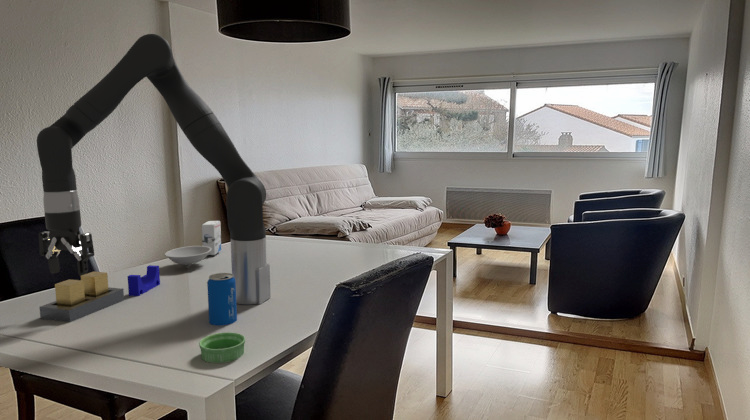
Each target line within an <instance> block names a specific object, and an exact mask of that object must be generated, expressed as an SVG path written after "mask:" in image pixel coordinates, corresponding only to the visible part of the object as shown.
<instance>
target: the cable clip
mask: <svg viewBox="0 0 750 420" xmlns="http://www.w3.org/2000/svg"><path fill="white" fill-rule="evenodd" d="M160 285H161V277H160V265H147V266H146V273H145V275H142V276H141V274H129V275H128V276H127V287H128V288H127V290H128V296H129V297H140V296H141V295H143V294H146V293H147V292H149V291H151V290H153V289H154V288H156V287H157V286H160Z"/></svg>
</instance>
